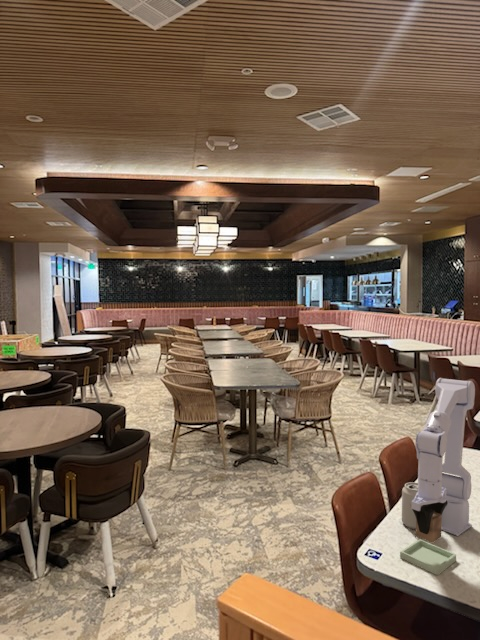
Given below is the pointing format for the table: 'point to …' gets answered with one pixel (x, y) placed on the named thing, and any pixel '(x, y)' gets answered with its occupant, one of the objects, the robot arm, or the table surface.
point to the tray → (428, 556)
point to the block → (431, 529)
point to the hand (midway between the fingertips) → (428, 529)
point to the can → (409, 504)
